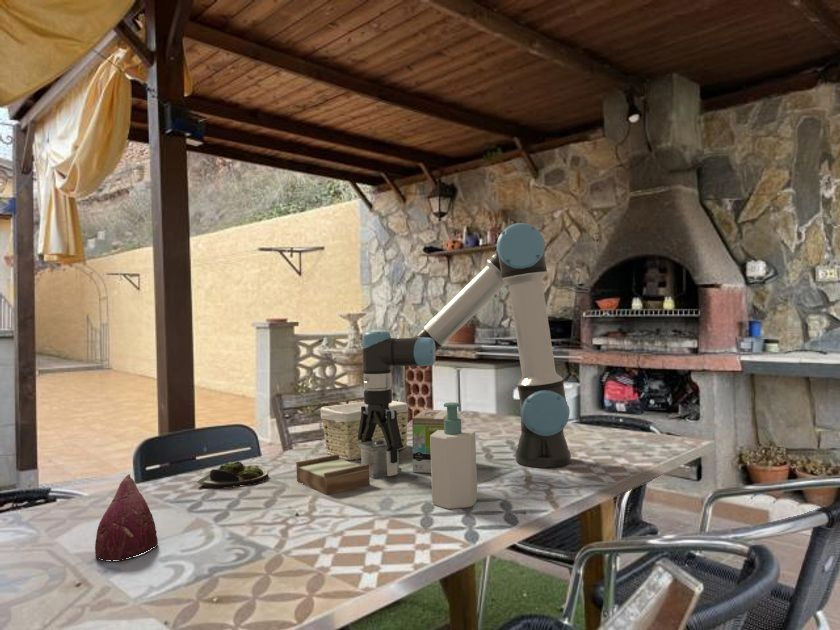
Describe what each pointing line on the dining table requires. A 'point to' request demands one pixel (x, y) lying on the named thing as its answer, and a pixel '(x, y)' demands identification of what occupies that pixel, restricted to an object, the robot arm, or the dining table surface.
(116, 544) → the vegetable
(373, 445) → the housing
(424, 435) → the tea box
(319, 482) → the stand
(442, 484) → the soap bottle
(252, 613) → the dining table surface
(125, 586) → the dining table surface
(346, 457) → the storage basket
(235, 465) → the salad plate
